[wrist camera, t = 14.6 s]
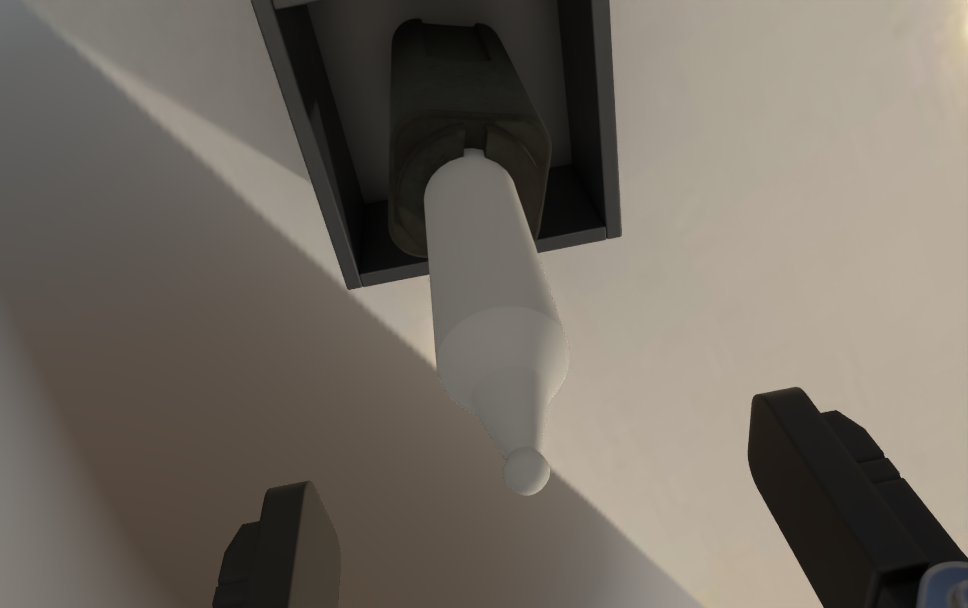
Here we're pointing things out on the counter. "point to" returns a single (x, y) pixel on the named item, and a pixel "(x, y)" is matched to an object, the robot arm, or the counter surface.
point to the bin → (366, 112)
